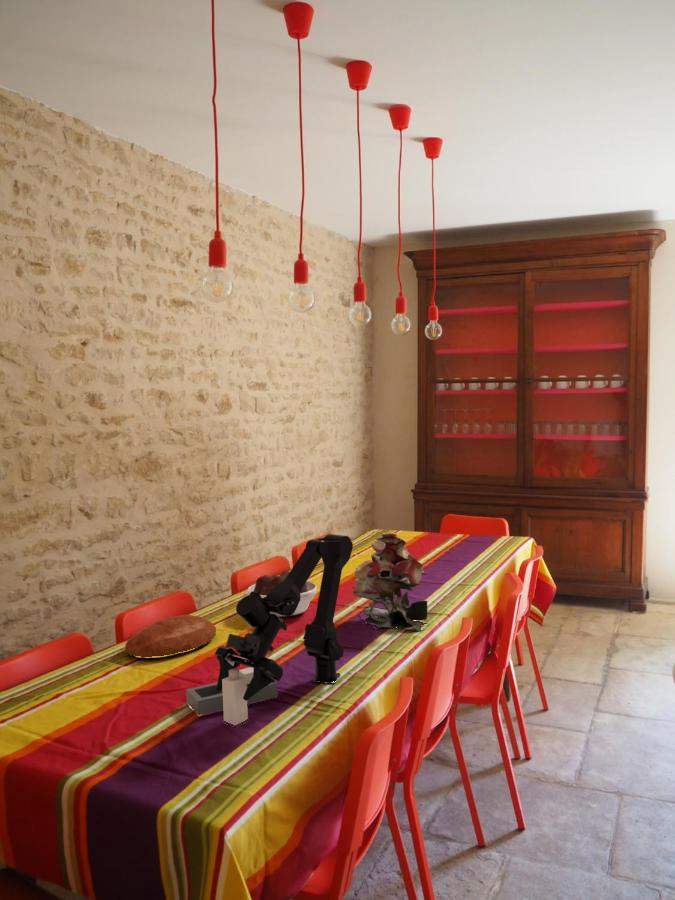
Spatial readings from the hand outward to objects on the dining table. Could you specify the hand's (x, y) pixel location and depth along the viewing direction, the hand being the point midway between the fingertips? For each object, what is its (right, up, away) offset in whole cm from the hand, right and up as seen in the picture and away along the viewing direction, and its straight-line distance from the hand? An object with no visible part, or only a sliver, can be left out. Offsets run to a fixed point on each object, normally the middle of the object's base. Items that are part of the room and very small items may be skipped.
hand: (230, 695), depth 173 cm
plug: (+1, -7, +1) cm, 7 cm away
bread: (-27, -4, +59) cm, 65 cm away
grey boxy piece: (-2, -6, +14) cm, 15 cm away
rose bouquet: (+43, -1, +80) cm, 91 cm away
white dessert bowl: (+6, -1, +91) cm, 91 cm away
